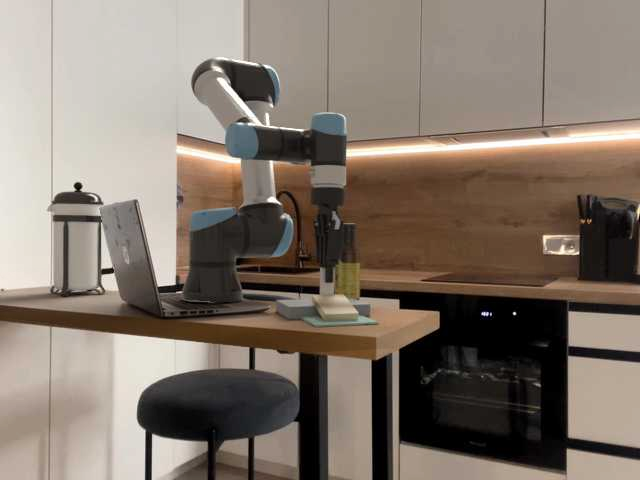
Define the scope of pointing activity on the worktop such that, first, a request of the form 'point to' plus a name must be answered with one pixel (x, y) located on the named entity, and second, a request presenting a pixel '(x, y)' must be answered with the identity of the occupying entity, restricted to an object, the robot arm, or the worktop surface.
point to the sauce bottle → (348, 264)
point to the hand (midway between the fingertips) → (326, 297)
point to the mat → (320, 322)
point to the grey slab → (312, 308)
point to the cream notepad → (334, 307)
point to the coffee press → (77, 242)
